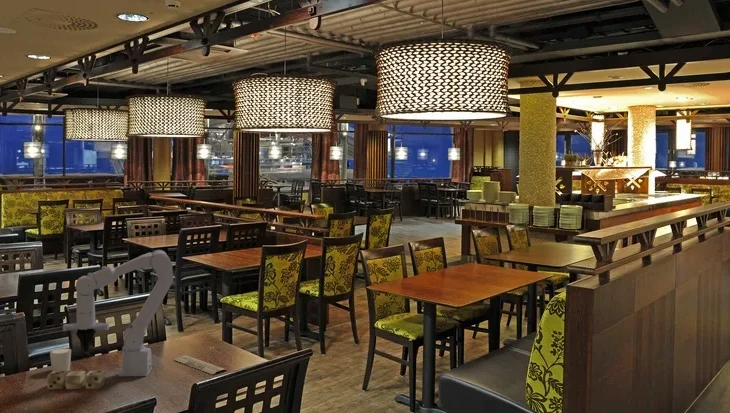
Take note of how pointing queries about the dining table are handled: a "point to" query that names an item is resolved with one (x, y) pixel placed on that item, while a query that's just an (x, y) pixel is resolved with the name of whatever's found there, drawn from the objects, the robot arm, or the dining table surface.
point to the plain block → (75, 380)
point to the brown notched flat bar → (199, 364)
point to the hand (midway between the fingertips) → (86, 350)
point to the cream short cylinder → (60, 359)
